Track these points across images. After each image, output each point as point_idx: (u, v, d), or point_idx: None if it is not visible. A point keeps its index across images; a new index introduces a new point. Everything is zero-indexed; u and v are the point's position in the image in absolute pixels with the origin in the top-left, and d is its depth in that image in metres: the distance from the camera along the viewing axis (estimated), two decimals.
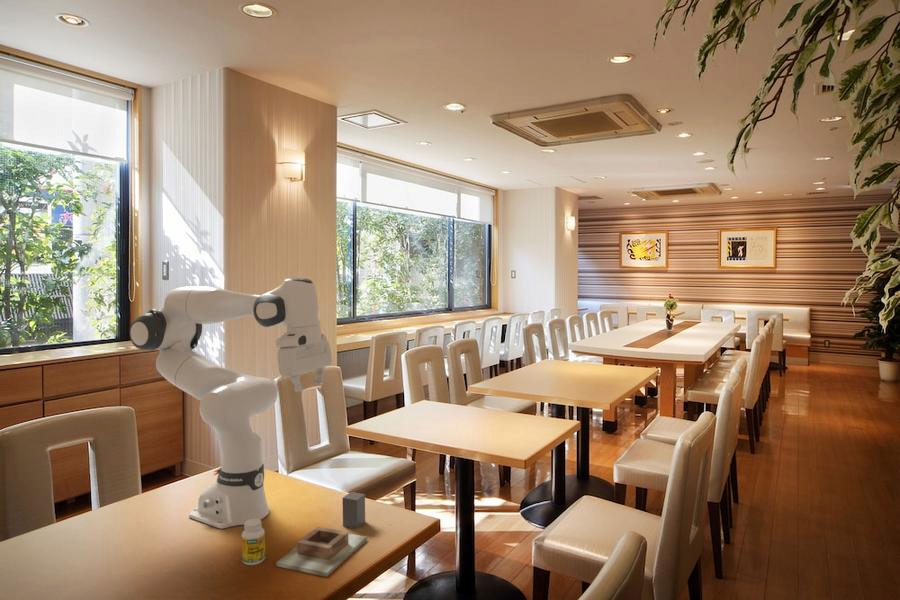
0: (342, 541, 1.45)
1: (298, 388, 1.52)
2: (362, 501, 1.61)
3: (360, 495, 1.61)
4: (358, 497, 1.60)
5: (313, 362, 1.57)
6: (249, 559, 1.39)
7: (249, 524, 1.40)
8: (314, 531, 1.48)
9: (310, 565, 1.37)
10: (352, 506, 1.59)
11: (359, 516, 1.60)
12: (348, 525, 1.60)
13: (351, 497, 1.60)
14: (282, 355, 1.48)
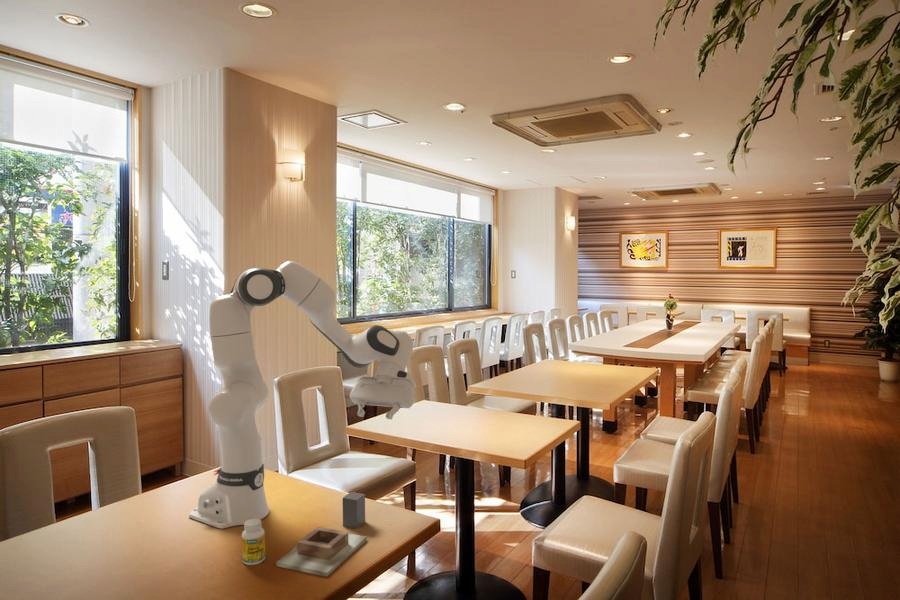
0: (342, 541, 1.45)
1: (392, 417, 1.70)
2: (362, 501, 1.61)
3: (360, 495, 1.61)
4: (358, 497, 1.60)
5: None
6: (249, 559, 1.39)
7: (249, 524, 1.40)
8: (314, 531, 1.48)
9: (310, 565, 1.37)
10: (352, 506, 1.59)
11: (359, 516, 1.60)
12: (348, 525, 1.60)
13: (351, 497, 1.60)
14: (412, 389, 1.74)
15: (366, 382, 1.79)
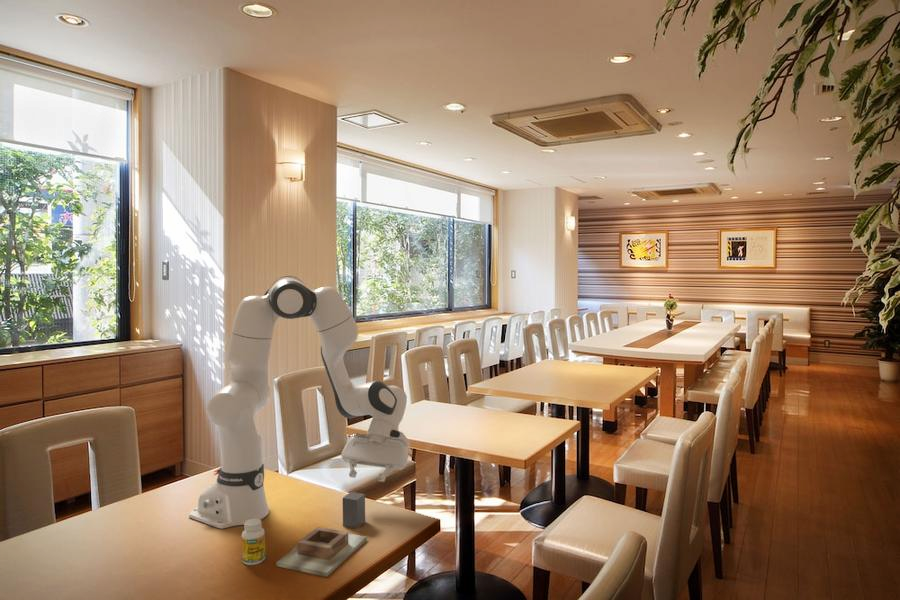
0: (342, 541, 1.45)
1: (384, 479, 1.66)
2: (362, 501, 1.61)
3: (360, 495, 1.61)
4: (358, 497, 1.60)
5: None
6: (249, 559, 1.39)
7: (249, 524, 1.40)
8: (314, 531, 1.48)
9: (310, 565, 1.37)
10: (352, 506, 1.59)
11: (359, 516, 1.60)
12: (348, 525, 1.60)
13: (351, 497, 1.60)
14: (405, 449, 1.70)
15: (358, 440, 1.75)
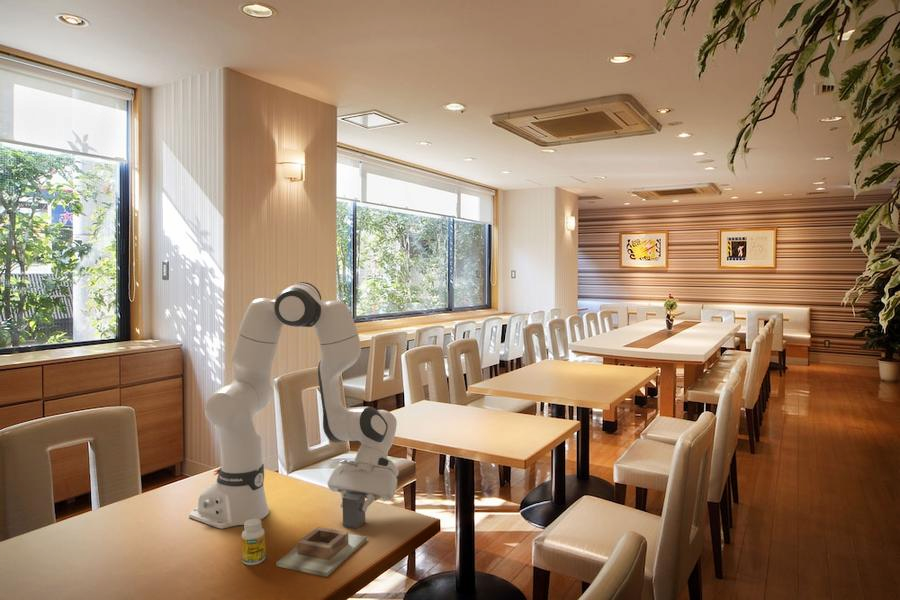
0: (342, 541, 1.45)
1: (366, 509, 1.60)
2: (362, 501, 1.61)
3: (360, 495, 1.61)
4: (358, 497, 1.60)
5: None
6: (249, 559, 1.39)
7: (249, 524, 1.40)
8: (314, 531, 1.48)
9: (310, 565, 1.37)
10: (352, 506, 1.59)
11: (359, 516, 1.60)
12: (348, 525, 1.60)
13: (351, 497, 1.60)
14: (394, 478, 1.63)
15: (345, 468, 1.68)
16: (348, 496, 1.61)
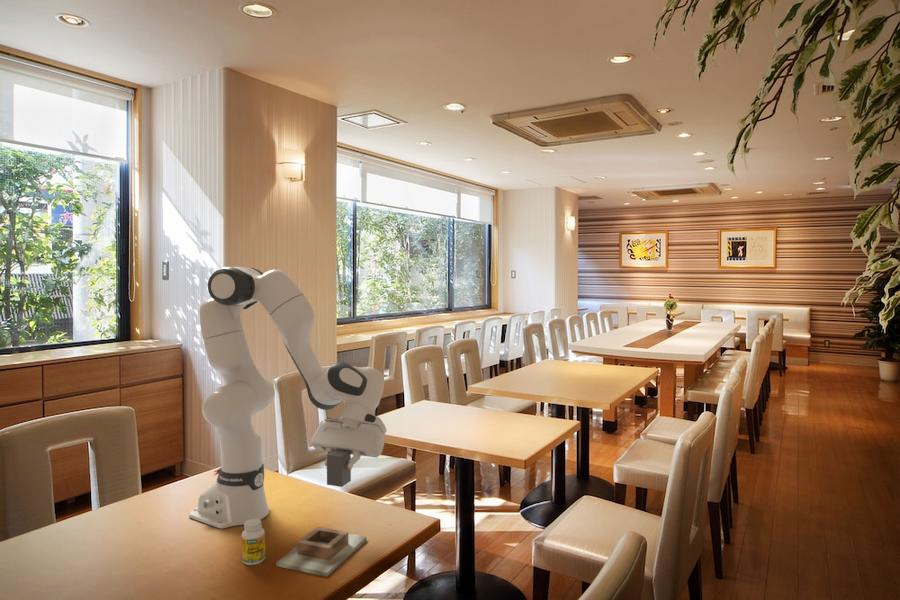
0: (342, 541, 1.45)
1: (351, 467, 1.51)
2: (347, 458, 1.52)
3: (345, 452, 1.53)
4: (343, 454, 1.51)
5: None
6: (249, 559, 1.39)
7: (249, 524, 1.40)
8: (314, 531, 1.48)
9: (310, 565, 1.37)
10: (337, 463, 1.50)
11: (344, 474, 1.51)
12: (332, 483, 1.51)
13: (336, 454, 1.51)
14: (381, 435, 1.55)
15: (330, 425, 1.59)
16: (333, 453, 1.52)
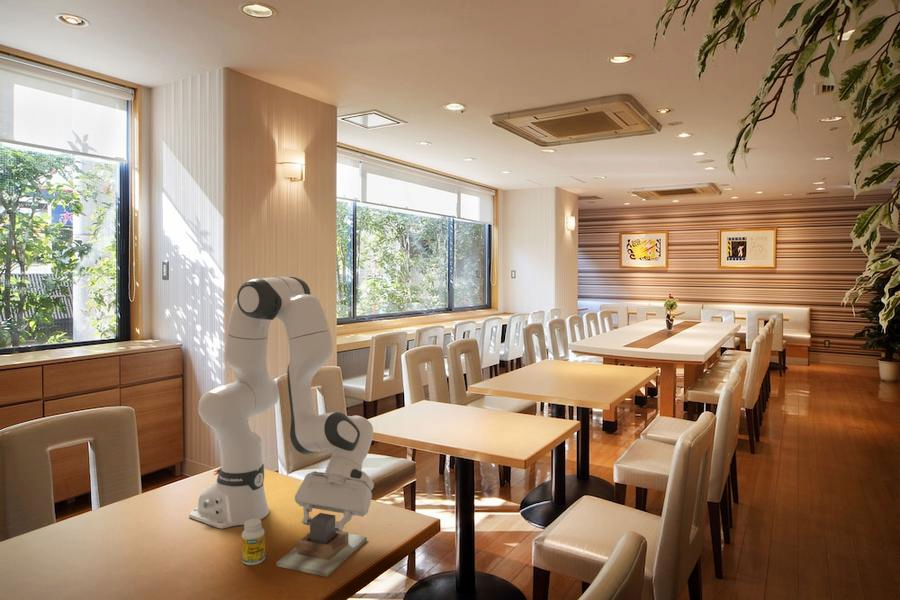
0: (342, 541, 1.45)
1: (342, 528, 1.43)
2: (332, 523, 1.45)
3: (330, 517, 1.45)
4: (327, 519, 1.44)
5: None
6: (249, 559, 1.39)
7: (249, 524, 1.40)
8: None
9: (310, 565, 1.37)
10: (321, 529, 1.42)
11: (328, 540, 1.43)
12: None
13: (319, 519, 1.44)
14: (368, 492, 1.47)
15: (315, 480, 1.52)
16: (316, 518, 1.44)
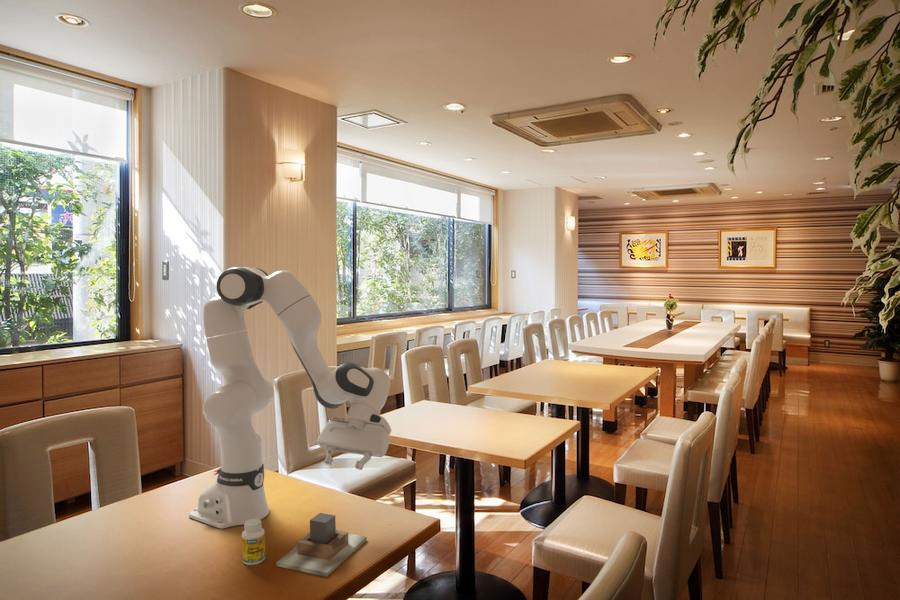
0: (342, 541, 1.45)
1: (362, 467, 1.53)
2: (332, 523, 1.45)
3: (330, 517, 1.45)
4: (327, 519, 1.44)
5: None
6: (249, 559, 1.39)
7: (249, 524, 1.40)
8: None
9: (310, 565, 1.37)
10: (321, 529, 1.42)
11: (328, 540, 1.43)
12: None
13: (319, 519, 1.44)
14: (386, 435, 1.57)
15: (336, 425, 1.62)
16: (316, 518, 1.44)
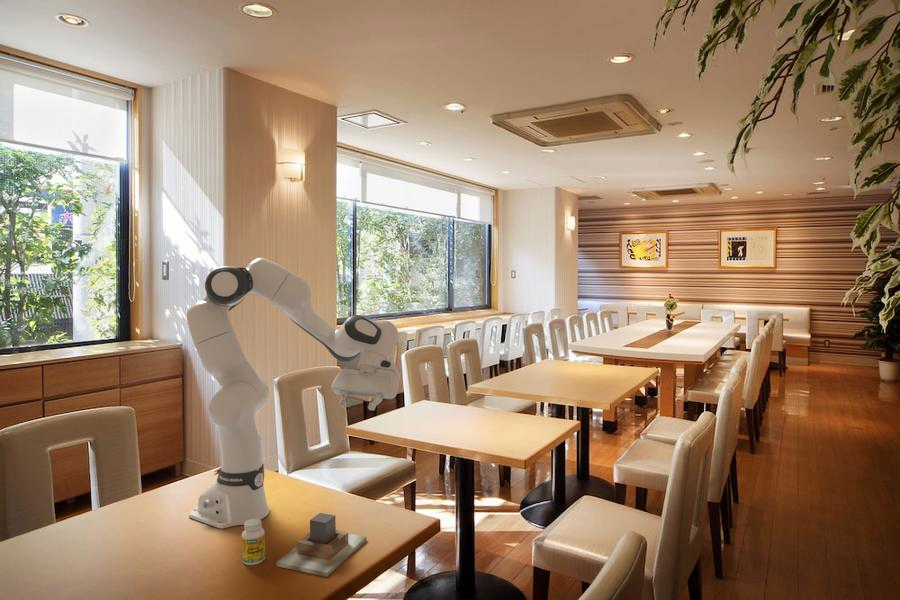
0: (342, 541, 1.45)
1: (374, 408, 1.64)
2: (332, 523, 1.45)
3: (330, 517, 1.45)
4: (327, 519, 1.44)
5: None
6: (249, 559, 1.39)
7: (249, 524, 1.40)
8: None
9: (310, 565, 1.37)
10: (321, 529, 1.42)
11: (328, 540, 1.43)
12: None
13: (319, 519, 1.44)
14: (396, 379, 1.68)
15: (349, 372, 1.73)
16: (316, 518, 1.44)
